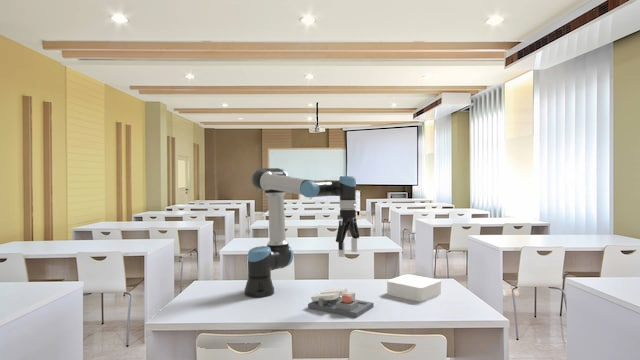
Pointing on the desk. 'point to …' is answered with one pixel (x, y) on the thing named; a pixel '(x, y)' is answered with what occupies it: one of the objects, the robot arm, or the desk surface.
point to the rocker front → (325, 296)
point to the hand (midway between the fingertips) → (348, 254)
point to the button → (347, 298)
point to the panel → (342, 306)
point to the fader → (352, 295)
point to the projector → (414, 287)
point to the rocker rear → (335, 291)
